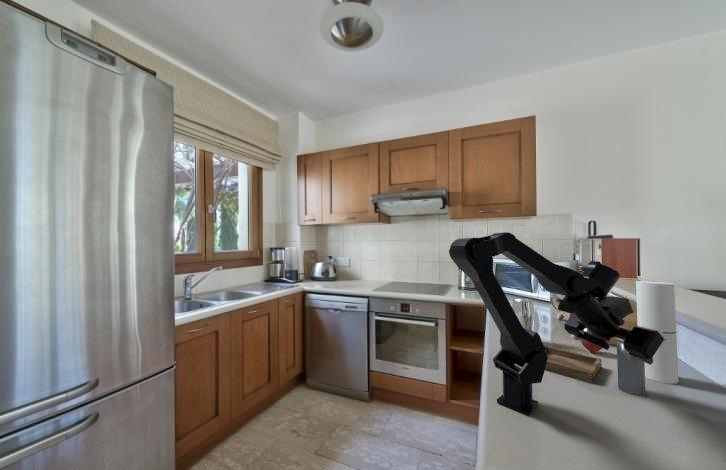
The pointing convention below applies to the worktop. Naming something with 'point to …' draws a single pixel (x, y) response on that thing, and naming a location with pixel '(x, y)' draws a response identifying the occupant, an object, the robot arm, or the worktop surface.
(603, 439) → the worktop surface
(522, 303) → the beer glass
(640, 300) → the cylindrical container
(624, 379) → the cylinder
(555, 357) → the walnut tray
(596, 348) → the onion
